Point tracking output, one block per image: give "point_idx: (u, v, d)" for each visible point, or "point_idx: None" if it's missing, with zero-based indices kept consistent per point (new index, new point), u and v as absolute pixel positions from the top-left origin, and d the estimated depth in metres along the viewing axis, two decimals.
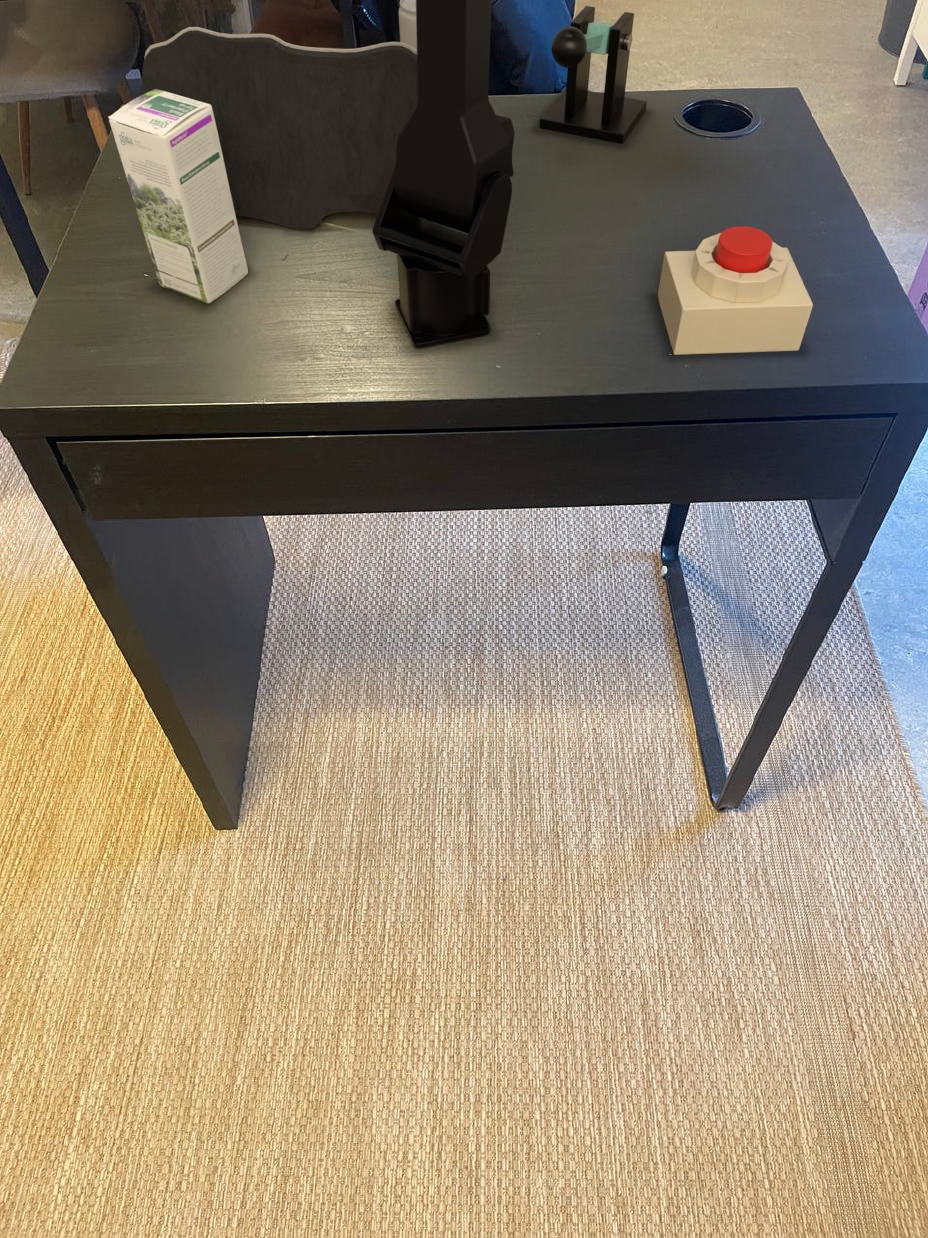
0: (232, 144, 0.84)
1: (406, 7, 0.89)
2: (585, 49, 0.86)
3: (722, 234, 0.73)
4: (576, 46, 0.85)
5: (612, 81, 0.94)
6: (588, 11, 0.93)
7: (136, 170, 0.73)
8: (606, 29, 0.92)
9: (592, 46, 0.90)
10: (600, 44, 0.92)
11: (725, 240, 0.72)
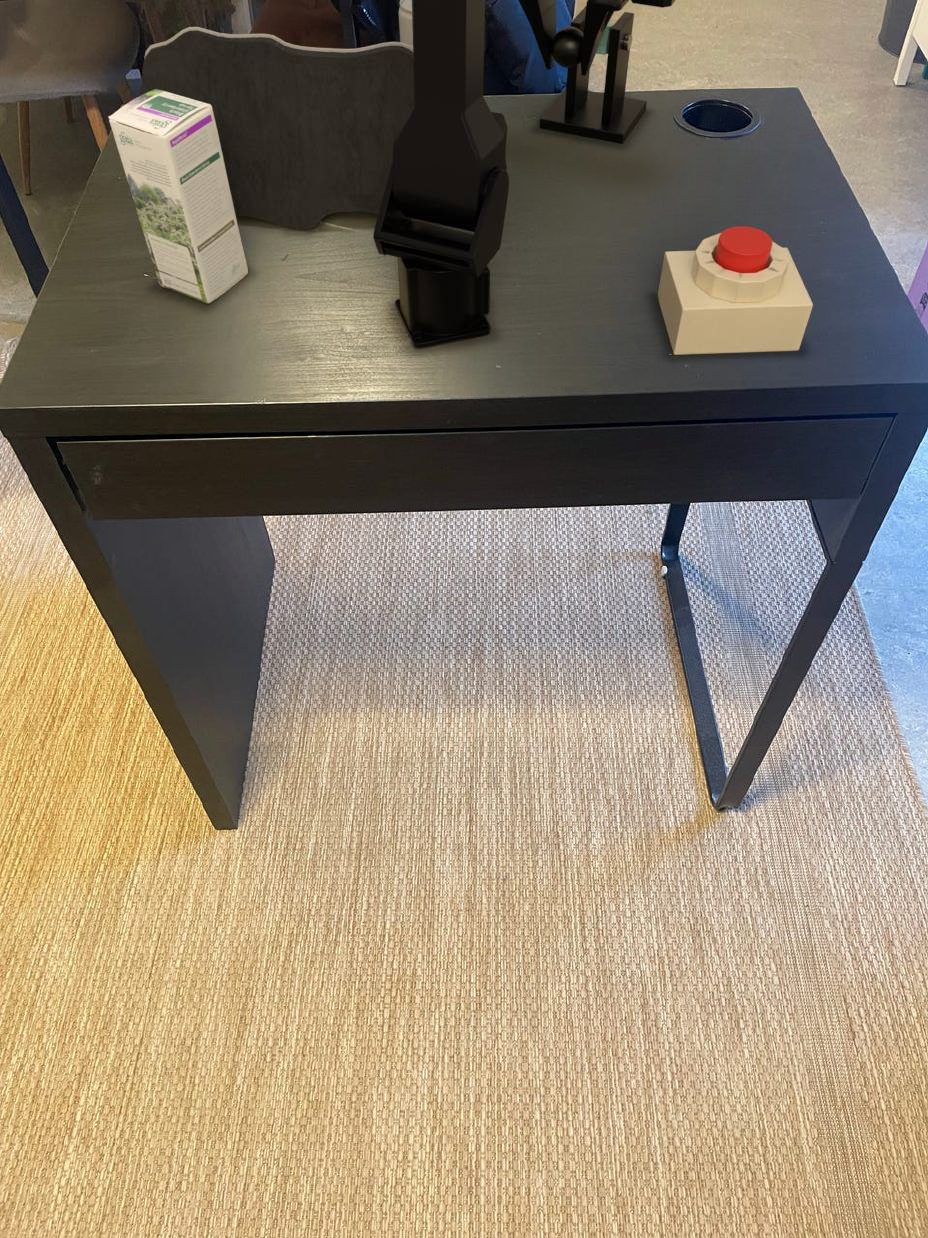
0: (232, 144, 0.84)
1: (406, 7, 0.89)
2: None
3: (722, 234, 0.73)
4: (576, 46, 0.85)
5: (612, 81, 0.94)
6: None
7: (136, 170, 0.73)
8: (606, 29, 0.92)
9: None
10: (600, 44, 0.92)
11: (725, 240, 0.72)
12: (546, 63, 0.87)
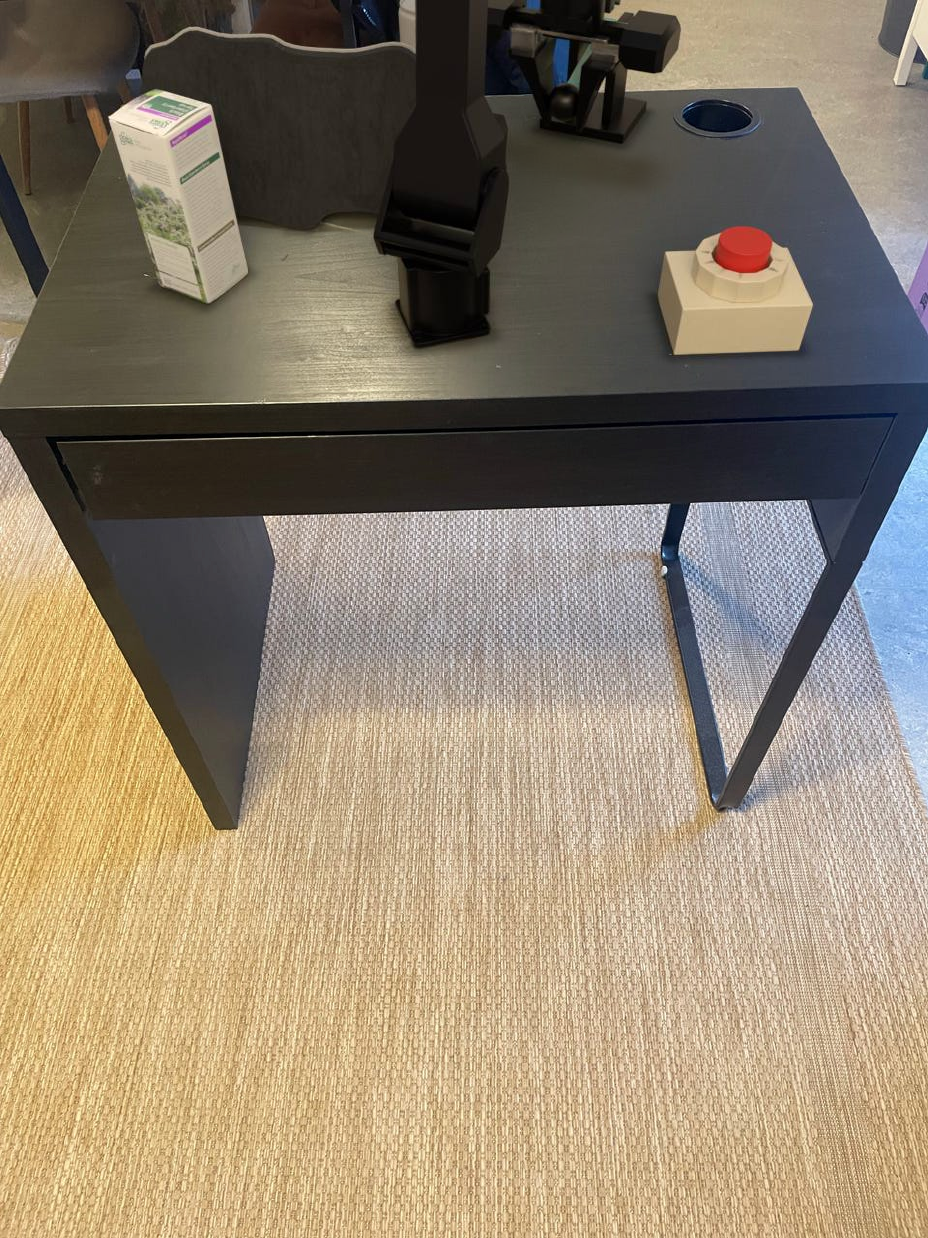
0: (232, 144, 0.84)
1: (406, 7, 0.89)
2: None
3: (722, 234, 0.73)
4: (570, 109, 0.89)
5: (612, 81, 0.94)
6: None
7: (136, 170, 0.73)
8: None
9: None
10: None
11: (725, 240, 0.72)
12: (544, 120, 0.91)
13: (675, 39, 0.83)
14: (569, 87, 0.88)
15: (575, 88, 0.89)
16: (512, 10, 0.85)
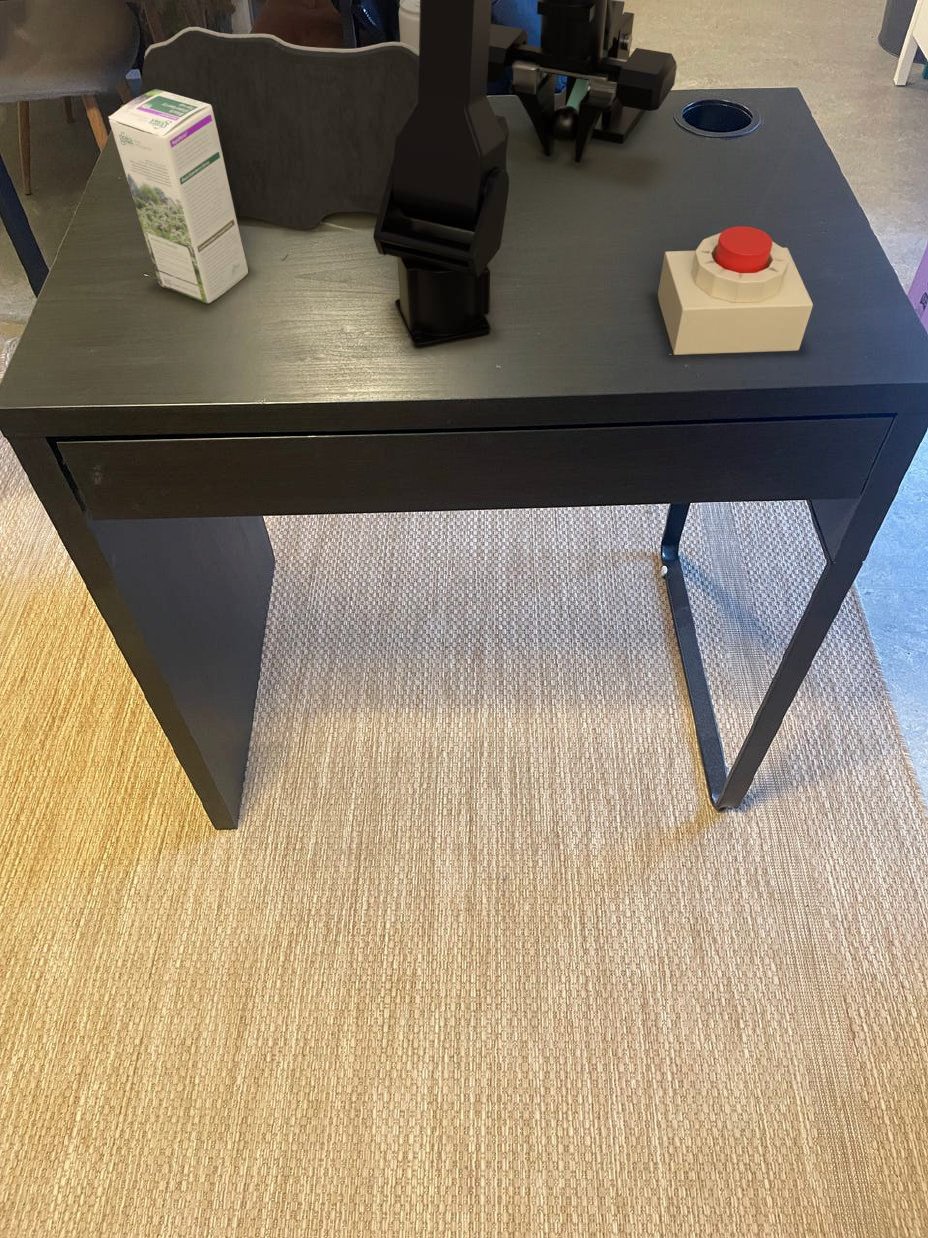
0: (232, 144, 0.84)
1: (406, 7, 0.89)
2: None
3: (722, 234, 0.73)
4: (571, 134, 0.91)
5: None
6: None
7: (136, 170, 0.73)
8: None
9: None
10: None
11: (725, 240, 0.72)
12: (546, 151, 0.94)
13: (671, 76, 0.86)
14: (569, 113, 0.91)
15: (575, 112, 0.91)
16: (513, 47, 0.88)
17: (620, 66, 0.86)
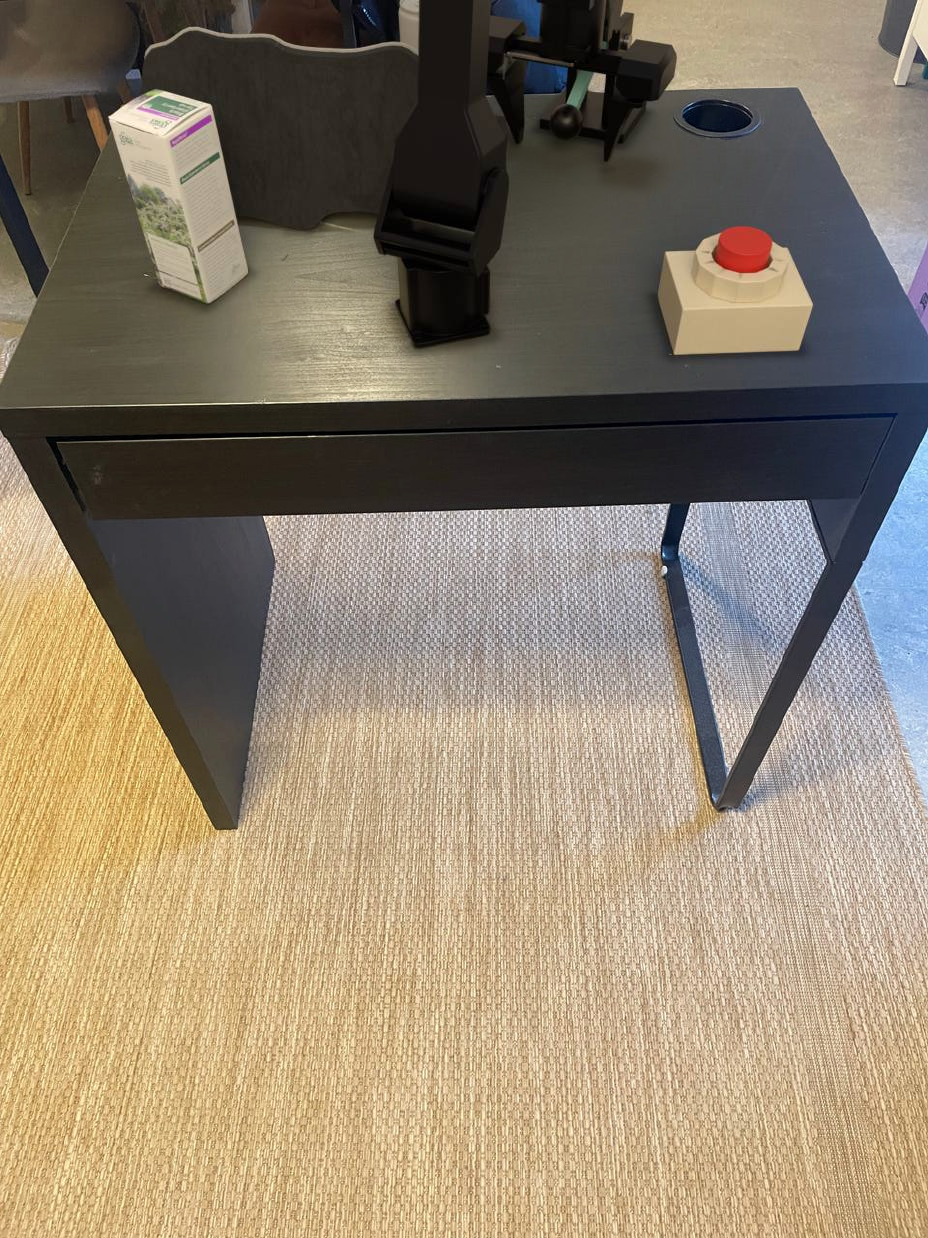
0: (232, 144, 0.84)
1: (406, 7, 0.89)
2: (581, 125, 0.91)
3: (722, 234, 0.73)
4: (571, 132, 0.91)
5: (612, 81, 0.94)
6: None
7: (136, 170, 0.73)
8: (603, 43, 0.92)
9: (591, 78, 0.93)
10: None
11: (725, 240, 0.72)
12: (515, 138, 0.94)
13: (671, 67, 0.85)
14: (569, 111, 0.90)
15: (575, 110, 0.91)
16: (512, 38, 0.87)
17: (620, 57, 0.85)
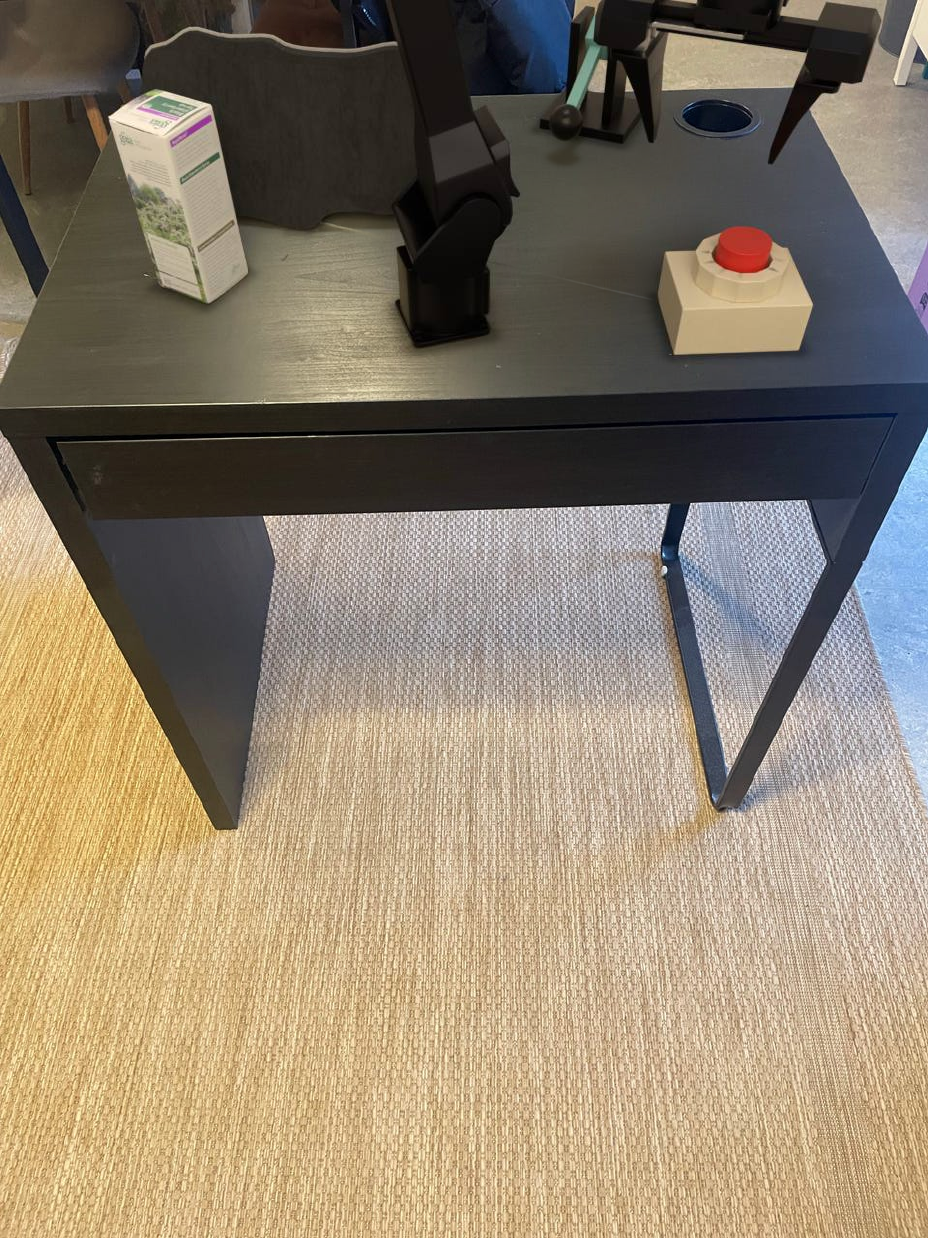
0: (232, 144, 0.84)
1: None
2: (581, 125, 0.91)
3: (722, 234, 0.73)
4: (571, 132, 0.91)
5: (612, 81, 0.94)
6: (588, 11, 0.93)
7: (136, 170, 0.73)
8: None
9: (591, 78, 0.93)
10: (600, 56, 0.93)
11: (725, 240, 0.72)
12: (649, 136, 0.73)
13: (875, 39, 0.64)
14: (569, 111, 0.90)
15: (575, 110, 0.91)
16: (658, 4, 0.66)
17: (808, 25, 0.64)
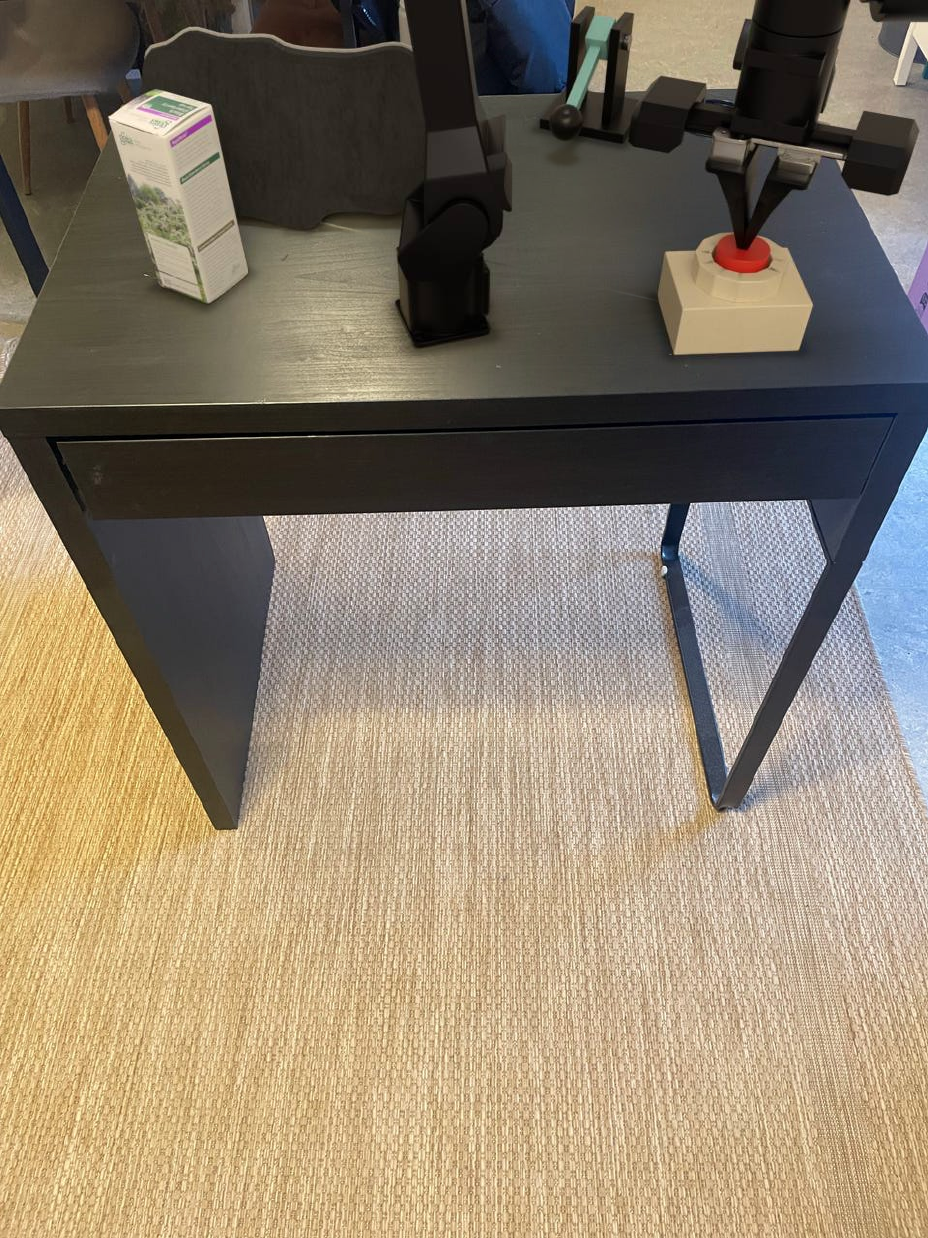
0: (232, 144, 0.84)
1: None
2: (581, 125, 0.91)
3: (721, 241, 0.73)
4: (571, 132, 0.91)
5: (612, 81, 0.94)
6: (588, 11, 0.93)
7: (136, 170, 0.73)
8: (603, 43, 0.92)
9: (591, 78, 0.93)
10: (600, 56, 0.93)
11: (723, 247, 0.73)
12: (738, 243, 0.72)
13: None
14: (569, 111, 0.90)
15: (575, 110, 0.91)
16: (694, 108, 0.66)
17: (845, 135, 0.64)
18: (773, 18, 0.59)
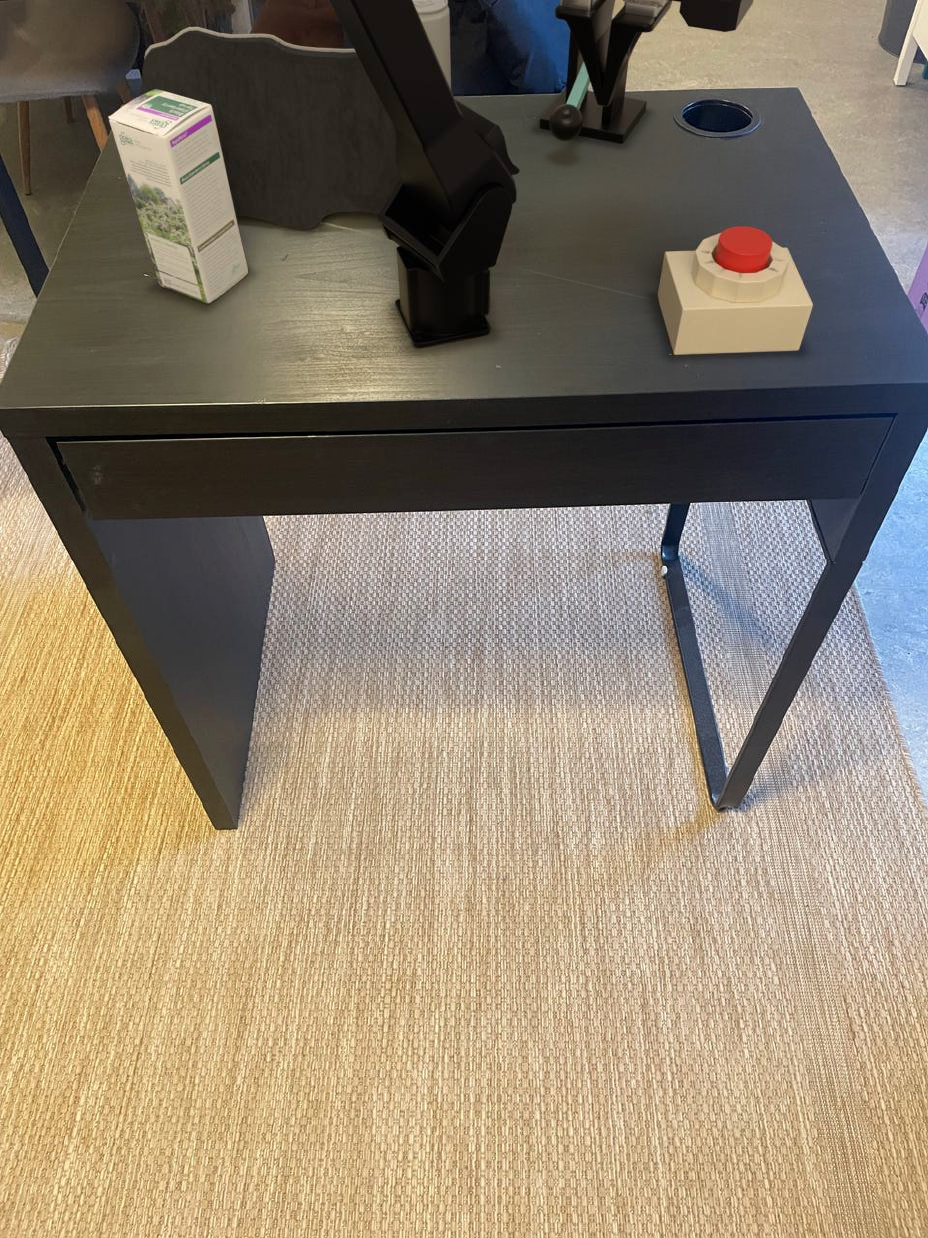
0: (232, 144, 0.84)
1: None
2: (581, 125, 0.91)
3: (722, 234, 0.73)
4: (571, 132, 0.91)
5: None
6: None
7: (136, 170, 0.73)
8: None
9: None
10: None
11: (725, 240, 0.72)
12: (598, 98, 0.73)
13: None
14: (569, 111, 0.90)
15: (575, 110, 0.91)
16: None
17: None
18: None
